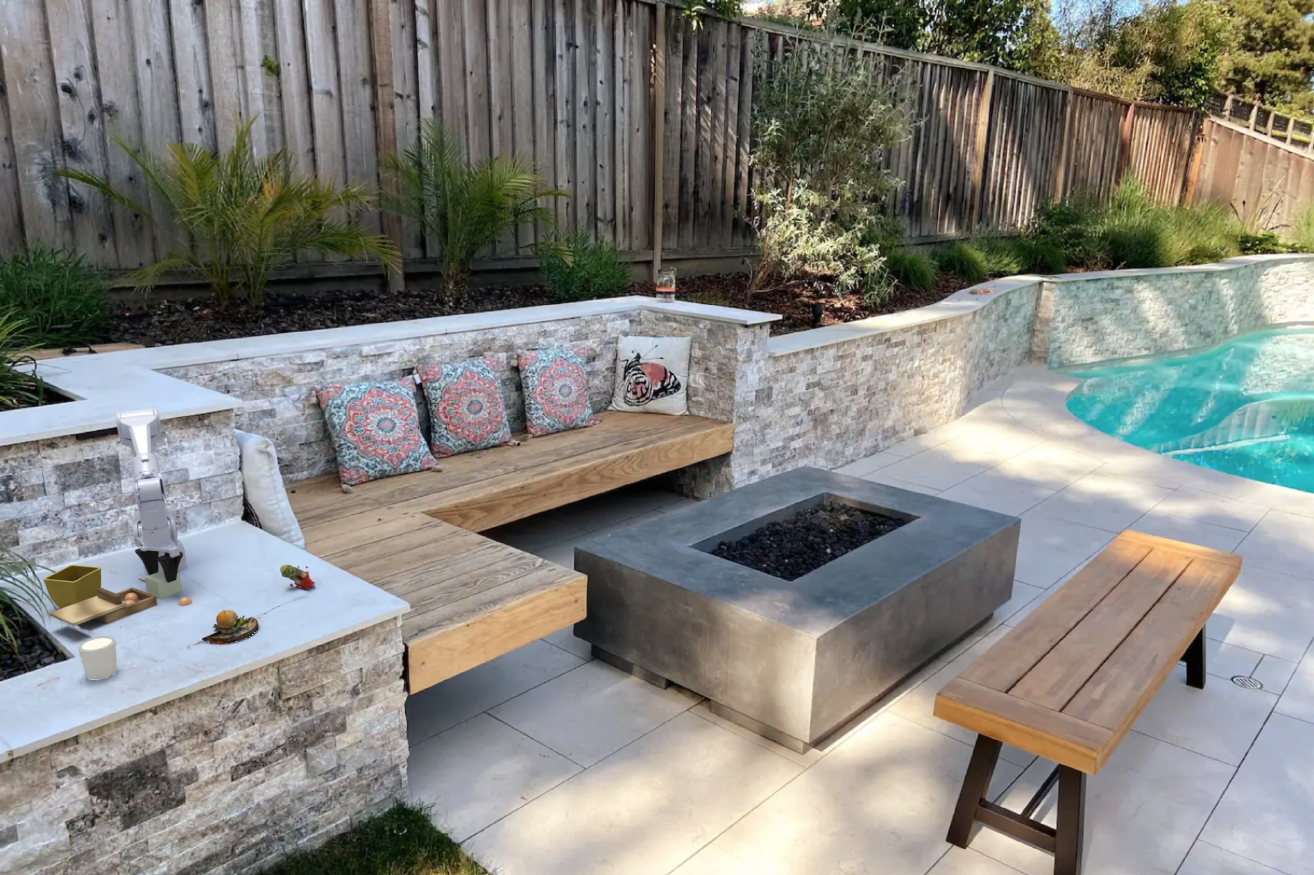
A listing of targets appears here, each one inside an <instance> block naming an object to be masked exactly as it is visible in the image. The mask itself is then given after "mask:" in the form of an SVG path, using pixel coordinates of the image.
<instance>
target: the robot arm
mask: <svg viewBox="0 0 1314 875" xmlns="http://www.w3.org/2000/svg"><path fill="white" fill-rule="evenodd" d="M115 421H116V428H117V433H118V437H119V441H120V442H121V446H125V447H129V449H130V450H131V452H132V453H133V458H132V462H131V465H132V466H131V467H132V472H133V480H134V482H133V484H132V486H133V492H134V497H135V502H136V505H137V510H138V512H136V514H135V515H133V517H132V519H131V522H132V533H133V540H134V546H136V547H137V548H136V549H134V553H135V554H136V555H137V556H138V557H139V559H140V560H141V562H142V563H143V567H144V573H145V574H142V575H140V576H138V579H139V580H141V581H144V582H145V577H146V576H149V575H152V574H155V573H158V572H160V571H164V575H165V579H166V581H167V582H168V583H170V582H172V581H175V580H176V579H177V573H178V571H180V570H181V571H182V570H184V569H187V568H188V563H187V562H188V561H187V557H186V549H185V547H184V544H183V542H182V541H181V540H179V539H178V530H177V524H176V520H175V516H174V513H173V511H171V510H170V509H168V508H166V498H167V493H166V492H167V491H166V485H165V481H164V478H163V474H162V473H161V470H160V464H159V459H158V457H157V455H154V454H153V450H154V445H155V444H156V443H158V442H160V441H161V437H162V426H161V425H162V424H161V418H160V412H159V409H158V408H157V407H153V408H146V409H135V410H127V411H125V410H124V411H119V410H118V411H116V413H115Z"/></svg>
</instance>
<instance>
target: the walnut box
mask: <svg viewBox="0 0 1314 875" xmlns="http://www.w3.org/2000/svg"><path fill="white" fill-rule="evenodd" d="M115 593H116V594H118V595H121V601H122V602H124V597H125V596H126V595H127V594H128V593H135V594H136V595H137V596H138V601H137V602H136V603H133V604H131V605H128V606H126V607H123V608H121V609H118V610H115V611H113V612H110V613H107V614H105V615H102V616H99V617H97V618H94V619H95V620H97V621H100V622H102V623H104V624H111V623H113V622H116V621H118V620H119V621H120V620H121V619H124V618H126V617H130V616H132V615H134V614H137V613H140V612H142V611H145V610H147V609H150V608H153V607H156V606H157V605H158V601H157V598H156V596H154V595H151V594H148V593H147V591H143V590H141V589H137V588H135V587H129V588H126V589H124V590H120V591H118V592H115Z"/></svg>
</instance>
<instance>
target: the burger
mask: <svg viewBox="0 0 1314 875" xmlns="http://www.w3.org/2000/svg"><path fill="white" fill-rule="evenodd" d="M245 617H246V615H242V617H241V616H240V617H239V616H238V615H237V612H235V611H234V610H231V609H222V610H221V611H220V612H219V613H218V614H217V616H216V618H215V621H216V623H214V624H213V625H212V628H213V629H217V630H218V631H216V632H214V633H210V634H209V635H207V636H205V637H202V638H201V639H202V640H203V641H205V642H208V643H209V644H210V645H211V644H212V645H216V644H217V643H218V645H228V644H234V643H237V642H236V641H238V642H241V641H243V640H246V639H245V638H247V639H249V638H250V637H249V636H251V637H253V636H254V635H256V633H257V632H258V631H259V622H258V619H257V618H255V617H252V616H251V617H248V618H245ZM256 631H257V632H256ZM254 632H256V633H254ZM252 634H254V635H252Z"/></svg>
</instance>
